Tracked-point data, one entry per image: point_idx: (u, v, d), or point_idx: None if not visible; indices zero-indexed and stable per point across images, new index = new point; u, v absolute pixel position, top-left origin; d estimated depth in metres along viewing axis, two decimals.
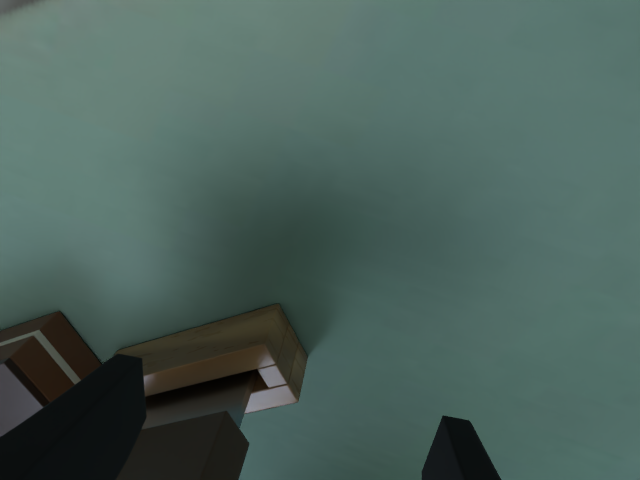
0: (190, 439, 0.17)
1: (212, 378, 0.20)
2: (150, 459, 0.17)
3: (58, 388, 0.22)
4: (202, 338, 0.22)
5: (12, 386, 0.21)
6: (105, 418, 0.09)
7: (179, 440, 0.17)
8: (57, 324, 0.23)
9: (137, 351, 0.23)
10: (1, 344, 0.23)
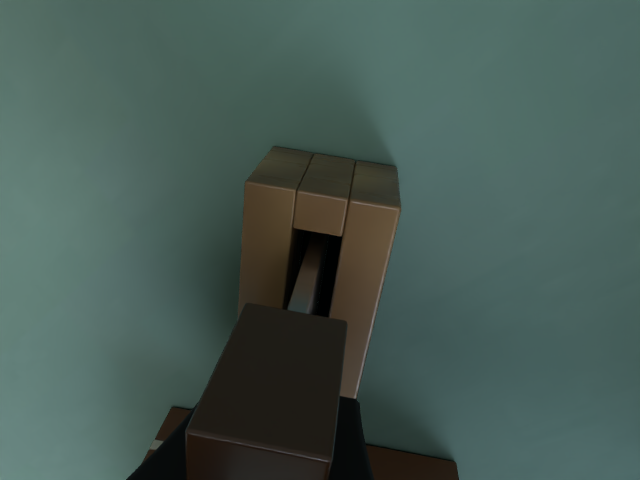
0: None
1: (279, 305, 0.12)
2: None
3: None
4: None
5: None
6: None
7: None
8: (176, 420, 0.18)
9: None
10: None
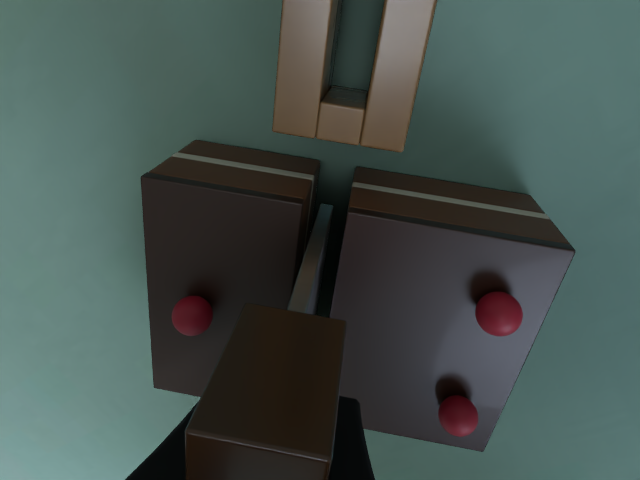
0: None
1: None
2: None
3: (253, 179, 0.13)
4: None
5: (186, 205, 0.12)
6: None
7: None
8: (201, 145, 0.15)
9: None
10: None
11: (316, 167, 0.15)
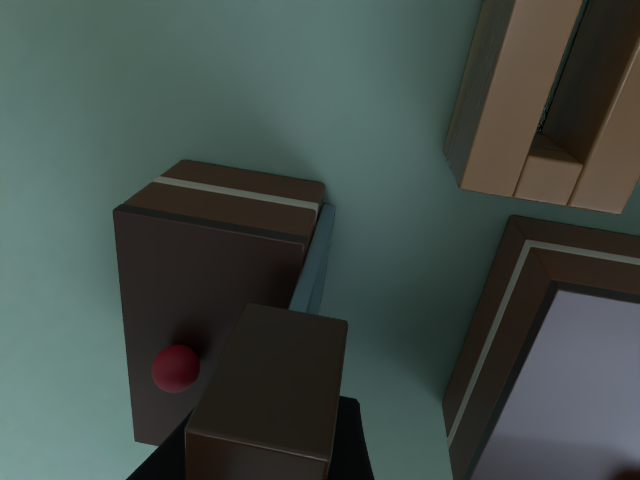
0: None
1: None
2: None
3: (246, 210, 0.11)
4: None
5: (168, 242, 0.10)
6: None
7: None
8: (188, 167, 0.13)
9: (465, 88, 0.11)
10: None
11: (320, 192, 0.13)
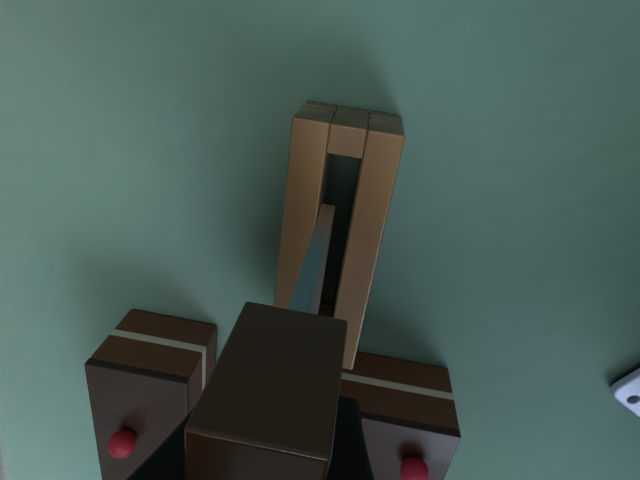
0: None
1: (314, 215, 0.16)
2: None
3: (160, 357, 0.20)
4: None
5: (114, 380, 0.19)
6: None
7: None
8: (133, 317, 0.22)
9: None
10: None
11: (211, 335, 0.22)
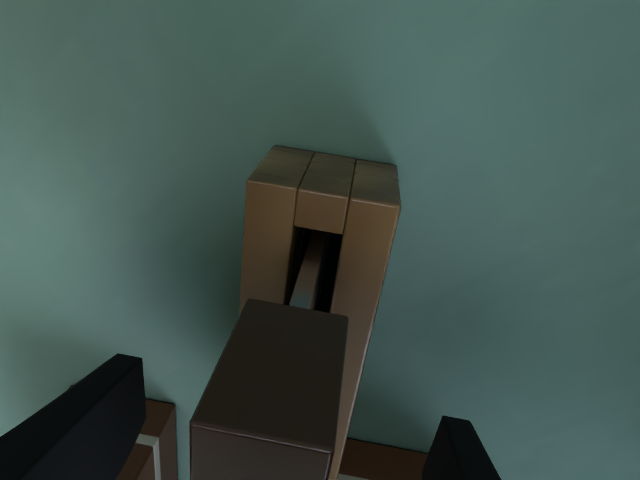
0: None
1: (280, 302, 0.12)
2: None
3: None
4: None
5: None
6: (105, 418, 0.09)
7: None
8: None
9: None
10: None
11: (166, 420, 0.18)
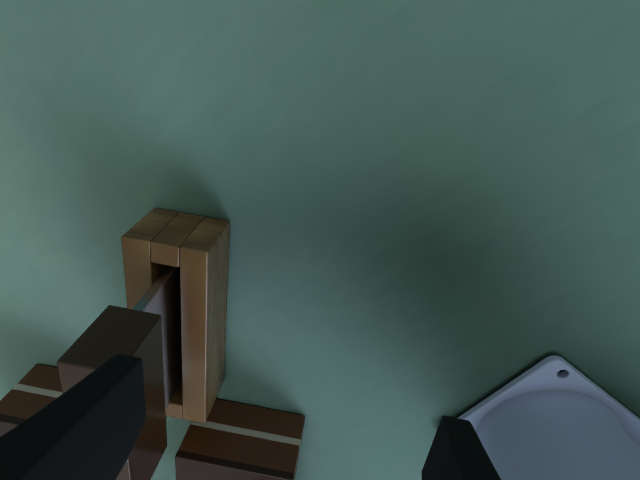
0: None
1: None
2: None
3: None
4: None
5: (9, 430, 0.23)
6: (105, 418, 0.09)
7: None
8: (36, 372, 0.26)
9: None
10: None
11: None
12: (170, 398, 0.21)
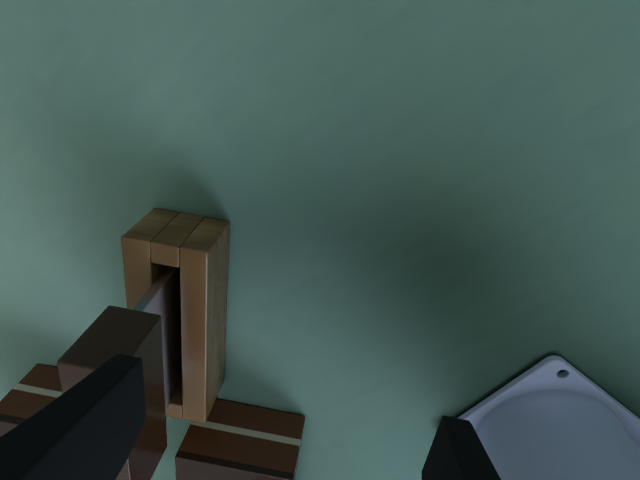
0: None
1: None
2: None
3: None
4: None
5: None
6: (105, 418, 0.09)
7: None
8: (37, 372, 0.26)
9: None
10: None
11: None
12: (170, 398, 0.21)
